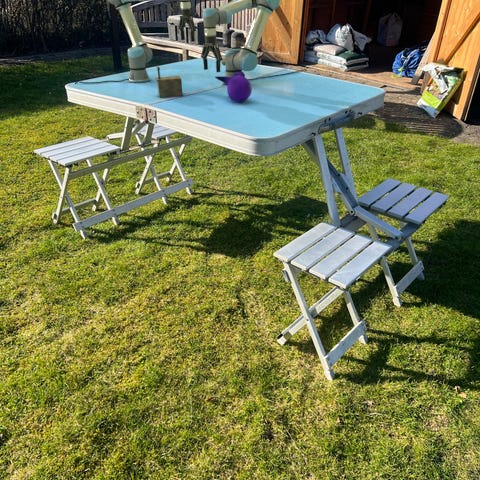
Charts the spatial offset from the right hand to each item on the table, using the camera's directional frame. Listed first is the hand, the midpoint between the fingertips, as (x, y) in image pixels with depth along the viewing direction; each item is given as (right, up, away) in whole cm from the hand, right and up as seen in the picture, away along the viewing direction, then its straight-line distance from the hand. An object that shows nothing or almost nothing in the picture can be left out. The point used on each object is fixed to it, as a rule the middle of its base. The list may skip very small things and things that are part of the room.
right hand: (212, 70), depth 295 cm
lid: (-28, -7, -4) cm, 29 cm away
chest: (-28, -16, +1) cm, 32 cm away
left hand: (-20, +36, +37) cm, 56 cm away
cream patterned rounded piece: (+13, +28, +74) cm, 80 cm away
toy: (+15, -24, -14) cm, 32 cm away
